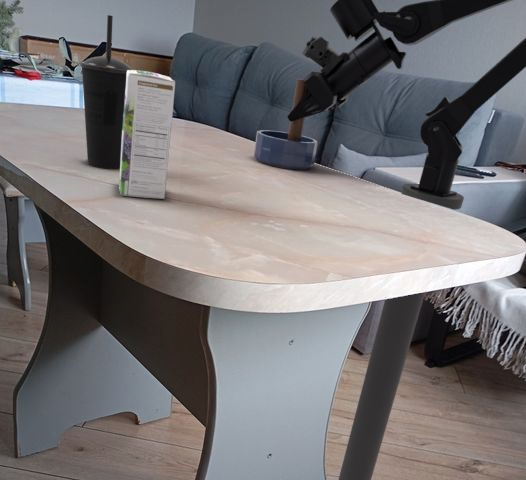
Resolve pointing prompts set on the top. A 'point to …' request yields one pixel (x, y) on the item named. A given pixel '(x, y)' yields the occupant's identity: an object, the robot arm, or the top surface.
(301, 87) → the rod
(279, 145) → the bowl
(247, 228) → the top surface
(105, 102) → the drinking cup
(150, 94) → the syrup box
